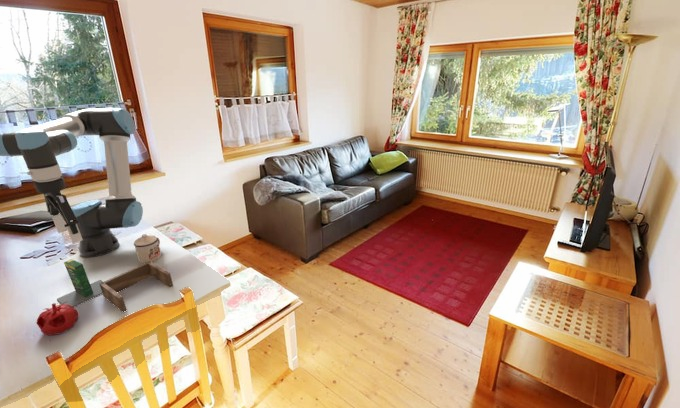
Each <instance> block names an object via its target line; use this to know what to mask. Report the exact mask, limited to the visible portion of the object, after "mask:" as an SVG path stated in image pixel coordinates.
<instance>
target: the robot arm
mask: <svg viewBox="0 0 680 408" xmlns="http://www.w3.org/2000/svg"><path fill="white" fill-rule="evenodd" d="M135 132H136V124H135V121H134V119H133V117H132V115H131V114H130V112H129V111H128V110H126V109H125V108H122V107H105V108H104V107H103V108H84V109H81V110H77V111H74V112H70V113H66V114H64V115H63V114H62V115H61V116H60V117H59V118H58V119H55V120H53V121H52V120H51V121H49V122H45V123H43V124H37V125H35V126H31V127H28V128H24V129H21V130H19V131H13V132H8V133H6V132H2V133H0V157H11V158H12V157H21V156H22V158H23V160H24V162H25V165H26V168H27V170H28V171H27V173H26V174H27V175H28V176H30V177H31V180H32V181H33V185H34V189H35V190H36V192H37V193H38V194H41V195H43V196H44V201H45V205H46V208H47V209H46V210H47V212H48V213H49V214H50V215H51V218H52V221H53V222H54V223H53V224H54V225H55V229H56V230H57V233H58V234H60V233H63V232H66V231H67V232H68V234H69V237H70V240H71V242H72V244H75V243H78V251H79V252H78V253H79V254H80V256H81V257H83V258H95V257H100V256H103V255H106V254H109V253H112V252H113V251H115V250H116V249H117V248H119V246H120V243H119V239H118V238H117V237H116V236H115V234H114V233H113V232H112V230H111V229H124V228H125V229H127V228H133V227H136V226H138V225H139V224H140V223H141V221H142V219H143V213H144V212H143V210H144V209H143V206H142V203H141V202H140V201H138V200H137V197H136V196H135V195H133V193H132V184H131V183H132V182H131V172H130V171H131V169H130V162H129V150H128V149H129V148H128V143H129V141H130V140H131V135H133V134H134V133H135ZM81 136H98V137H99V139H100V140H101V141H103V145H104V155H105V156H104V157H105V165H106V175H107V176H106V177H107V187H108V196H107V197H106V198H105V200H104V201H105V202H104V203H103V201H102V200H100V199H91V200H87V201H84V202H81V203H78V204H76V205H74V206H73V207H71V205H70V203H69V201H68V199H67V196H66V195H65V194H62V193H61V191H62V190H65V189H66V188H67V185H66V182H65V179H64V177H62V176H63V172H62V170H61V168H60V165H59V163H58V160H57V157H58V156H60V155H63V154H65V153H69V152H71V151H73V150H74V149H76V148H77V146H78V139H77V138H80V137H81Z"/></svg>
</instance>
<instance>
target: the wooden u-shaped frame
mask: <svg viewBox="0 0 680 408" xmlns="http://www.w3.org/2000/svg"><path fill="white" fill-rule="evenodd" d="M151 277H152V278H154V279H155V280H157V281H159V282H160V283H162V284H164V285H165V286H167V287H168V288H172V287H174V284H173V281H172V280H173V279H172V275H171V273H170V272H169V271H167V270H166V269H164V268H162V267H161V266H158V265H157V264H155V263H153V262H150V261H149V262H147V263H142V264H140V265H138V266H135V267H133V268H131V269H129V270H126V271H124V272H122V273H120V274H118V275H115V276H114V277H112V278H109V279H107V280H104V281H103V282H102V283H100V287H101V290H102V293H103V294H102V295H103V297H105V298H104V299H106V300H107V299H108V300H109V301H110V303H111V304H112V305H113V304H114V305H115V306H114V305H113V306H114V307H115V308H116V309H118V308H119V309H120V312H122V311H123V312H124V311H126V310H127V307H126V303H125V300H124V297H123V296H122V295H121V294H120V292H122V291H124V290H126V289H128V288H130V287H133V286H135V285H136V283H137V284H138V282H139V283H141V282H143V281H145V280H147V279H149V278H151ZM134 284H135V285H134ZM125 288H126V289H125ZM123 289H124V290H123ZM121 290H122V291H121ZM119 291H120V292H119ZM117 292H118V293H117ZM108 300H107V301H108ZM109 301H108V302H109ZM119 309H118V310H119ZM127 311H128V310H127ZM127 311H126V312H127ZM123 312H122V313H123ZM124 313H125V312H124Z"/></svg>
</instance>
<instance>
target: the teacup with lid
mask: <svg viewBox="0 0 680 408" xmlns="http://www.w3.org/2000/svg"><path fill="white" fill-rule="evenodd" d="M160 242H161V241H160V238H159V237H157V236H156V235H151V234H149V235H148V234H146V233H143V234H142V235H141V236H140V237H139V238H137V239H136V240H134V242H133V246H134V247H135V250H136V251H135V252H136V255H137V258H138V261H139V262H140V263H142V264H145V263H147V262H149V261H150V262H152V263H153V262H156V261H157V260H159V259H160V258H161V257H162V252H161V248H160Z"/></svg>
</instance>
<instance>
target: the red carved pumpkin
mask: <svg viewBox="0 0 680 408" xmlns="http://www.w3.org/2000/svg"><path fill="white" fill-rule="evenodd" d="M67 302H68V301H67ZM64 303H66V302H64ZM64 303H63V304H61V303H60V304H58V305H57V304H56V302H53V303H52V304H51V307H50V308H47V307H46V308H44V309H43V311H42V312H41V313H39V315H38V317H37V319H36V325H37V326H38V328H39V330H40V331H41V333H42V334H44V335H46V336H47V335H48V336H53V335H60V334H62V333H64V332H66V331H69V330H70V329H72V328H73V327H74V326H75V324H76V322H77V321H78V320H79V317H80V316H79V311H78V310H77V309H76V307H72V306H70V305H64Z"/></svg>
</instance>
